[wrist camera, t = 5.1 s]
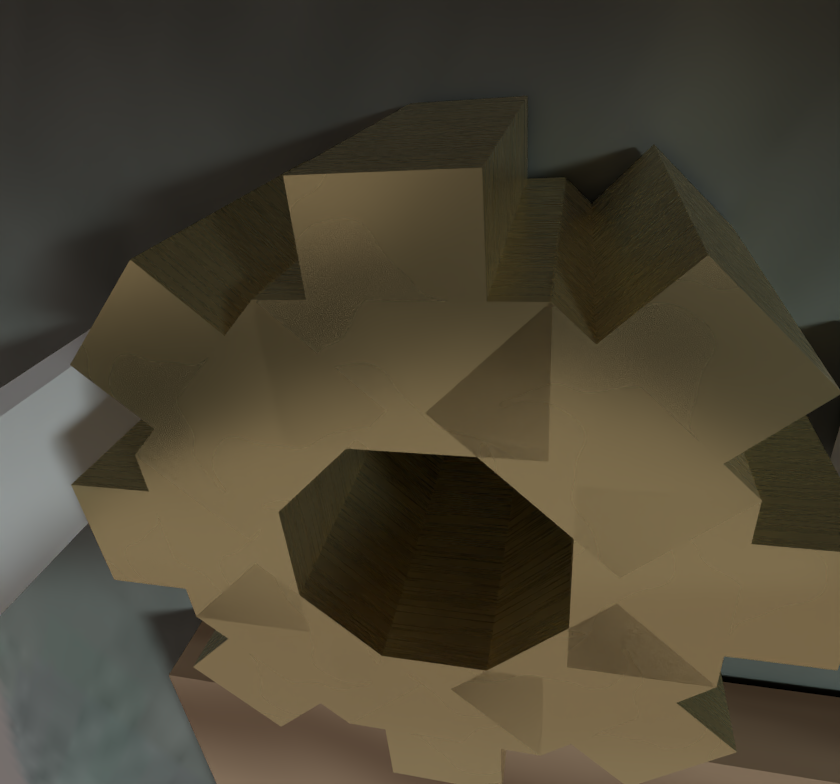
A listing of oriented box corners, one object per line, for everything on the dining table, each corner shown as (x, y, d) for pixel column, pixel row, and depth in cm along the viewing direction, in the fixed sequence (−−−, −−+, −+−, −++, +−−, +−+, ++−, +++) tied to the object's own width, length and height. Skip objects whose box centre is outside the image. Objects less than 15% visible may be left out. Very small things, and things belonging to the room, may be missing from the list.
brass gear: (187, 117, 11) (-64, 189, 7) (819, 77, 9) (1040, 144, 4) (291, 539, 16) (184, 734, 11) (713, 581, 13) (770, 842, 9)
